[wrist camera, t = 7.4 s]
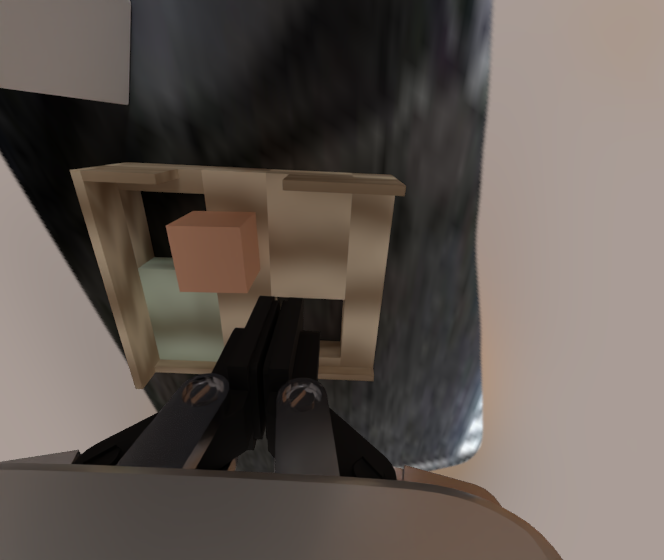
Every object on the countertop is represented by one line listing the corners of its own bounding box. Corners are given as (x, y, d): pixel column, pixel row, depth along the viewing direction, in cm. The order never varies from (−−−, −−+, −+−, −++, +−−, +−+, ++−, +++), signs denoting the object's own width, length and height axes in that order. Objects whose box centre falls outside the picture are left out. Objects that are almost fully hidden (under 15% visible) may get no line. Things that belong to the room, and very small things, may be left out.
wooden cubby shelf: (126, 162, 23) (69, 169, 18) (391, 174, 24) (405, 185, 19) (168, 347, 31) (135, 388, 26) (369, 355, 31) (376, 398, 26)
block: (193, 210, 22) (165, 225, 19) (255, 212, 22) (239, 227, 19) (203, 268, 24) (179, 291, 21) (260, 269, 24) (247, 293, 21)
